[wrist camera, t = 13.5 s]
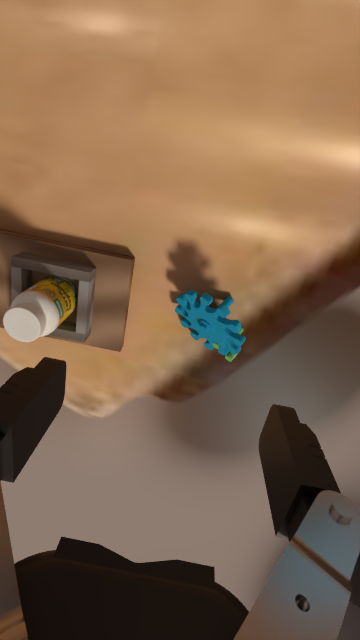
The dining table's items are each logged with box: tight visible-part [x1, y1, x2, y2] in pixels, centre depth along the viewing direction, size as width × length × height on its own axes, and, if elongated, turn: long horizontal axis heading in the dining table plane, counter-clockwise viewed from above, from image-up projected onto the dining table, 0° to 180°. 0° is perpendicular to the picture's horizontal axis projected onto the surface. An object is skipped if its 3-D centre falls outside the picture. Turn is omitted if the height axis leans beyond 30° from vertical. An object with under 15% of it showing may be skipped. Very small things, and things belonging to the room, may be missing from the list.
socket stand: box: [0, 230, 135, 352], centre depth 42 cm, size 13×18×4 cm
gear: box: [175, 290, 246, 362], centre depth 41 cm, size 11×6×10 cm
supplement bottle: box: [3, 276, 78, 342], centre depth 38 cm, size 5×5×10 cm
